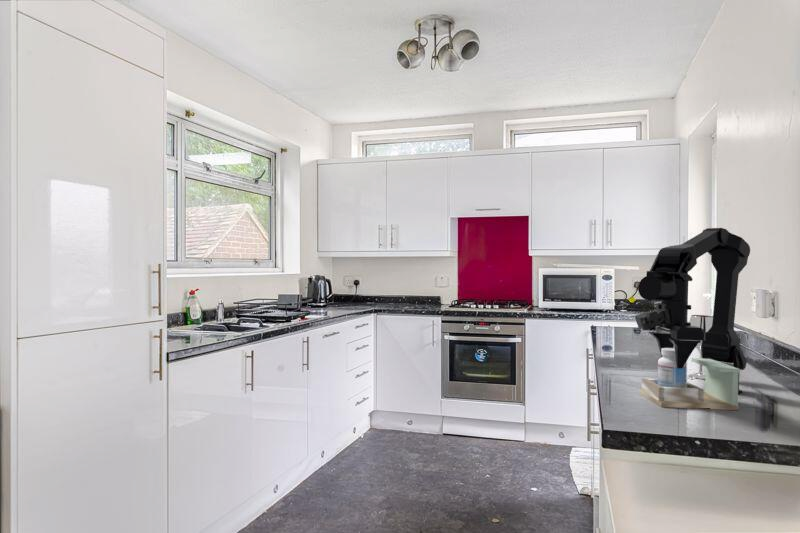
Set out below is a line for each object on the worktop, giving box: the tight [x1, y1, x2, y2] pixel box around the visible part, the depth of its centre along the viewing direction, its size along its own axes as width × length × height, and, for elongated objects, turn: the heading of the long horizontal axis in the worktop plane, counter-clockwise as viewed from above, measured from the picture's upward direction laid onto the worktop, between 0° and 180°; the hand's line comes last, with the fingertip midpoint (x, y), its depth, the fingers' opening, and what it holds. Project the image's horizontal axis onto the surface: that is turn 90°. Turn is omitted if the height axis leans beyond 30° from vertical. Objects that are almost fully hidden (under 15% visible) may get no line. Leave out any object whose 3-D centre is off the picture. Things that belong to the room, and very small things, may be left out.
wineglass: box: [688, 314, 713, 380], centre depth 156 cm, size 8×8×18 cm
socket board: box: [638, 377, 740, 411], centre depth 127 cm, size 17×13×4 cm
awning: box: [691, 357, 741, 406], centre depth 127 cm, size 4×13×9 cm, turn 177°
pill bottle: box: [657, 347, 687, 388], centre depth 127 cm, size 6×6×11 cm
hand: (672, 365), depth 127 cm, fingers open, 7 cm apart
